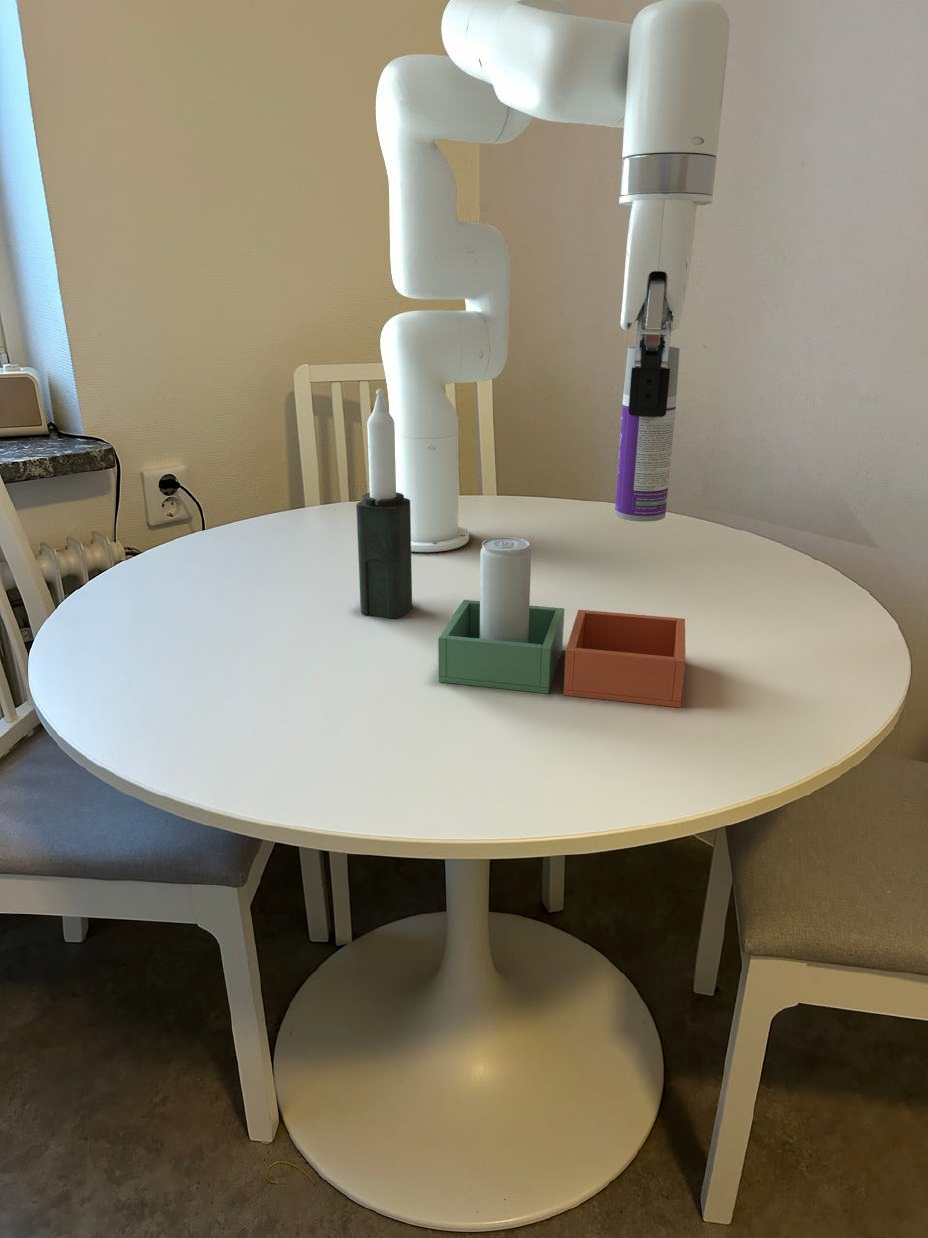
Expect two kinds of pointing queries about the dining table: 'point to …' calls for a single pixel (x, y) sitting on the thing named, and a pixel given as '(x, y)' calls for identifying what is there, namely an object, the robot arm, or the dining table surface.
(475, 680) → the sage bin
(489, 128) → the robot arm
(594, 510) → the dining table surface
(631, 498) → the container
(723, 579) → the dining table surface
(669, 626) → the terracotta bin
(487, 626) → the beverage can
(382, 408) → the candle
